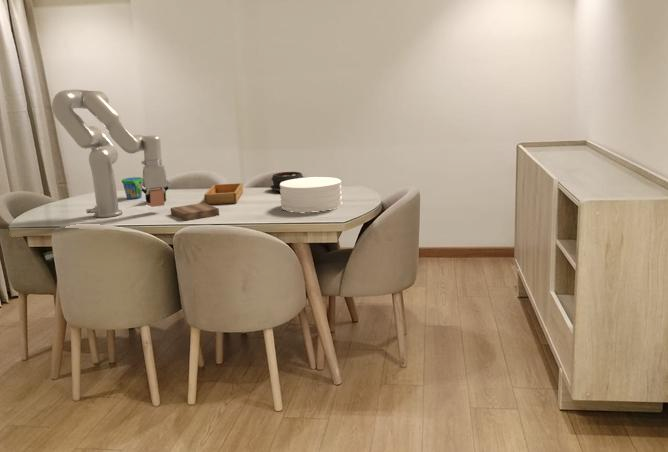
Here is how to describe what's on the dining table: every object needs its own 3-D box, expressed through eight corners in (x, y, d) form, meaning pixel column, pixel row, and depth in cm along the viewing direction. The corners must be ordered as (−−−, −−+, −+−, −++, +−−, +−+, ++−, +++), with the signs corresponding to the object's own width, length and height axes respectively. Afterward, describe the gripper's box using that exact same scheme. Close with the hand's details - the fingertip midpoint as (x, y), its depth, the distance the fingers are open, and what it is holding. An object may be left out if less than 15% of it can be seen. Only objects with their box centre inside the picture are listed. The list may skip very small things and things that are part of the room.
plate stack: (270, 211, 312) (268, 186, 309) (299, 199, 337) (297, 176, 334) (325, 214, 300) (324, 188, 297) (352, 202, 325) (351, 177, 322)
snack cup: (148, 198, 358) (145, 179, 356) (127, 201, 354) (125, 181, 351) (141, 194, 372) (138, 175, 369) (121, 197, 367) (118, 178, 365)
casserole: (302, 193, 352) (301, 177, 350) (266, 194, 353) (265, 178, 351) (308, 184, 376) (307, 169, 374) (274, 186, 378) (273, 170, 376)
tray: (214, 194, 364) (213, 183, 362) (243, 193, 364) (242, 182, 362) (205, 206, 334) (204, 194, 332) (236, 204, 334) (235, 192, 333)
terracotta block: (151, 206, 317) (150, 191, 315) (147, 204, 322) (146, 189, 320) (164, 205, 320) (163, 190, 318) (160, 203, 325) (159, 188, 323)
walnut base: (184, 220, 302) (184, 214, 301) (171, 214, 317) (170, 207, 316) (219, 215, 310) (218, 208, 309) (204, 209, 325) (203, 202, 324)
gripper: (136, 165, 309) (139, 205, 313) (174, 162, 318) (176, 201, 322) (131, 163, 315) (134, 202, 319) (168, 160, 324) (171, 198, 328)
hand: (155, 201), depth 321 cm, fingers closed on terracotta block, 6 cm apart
